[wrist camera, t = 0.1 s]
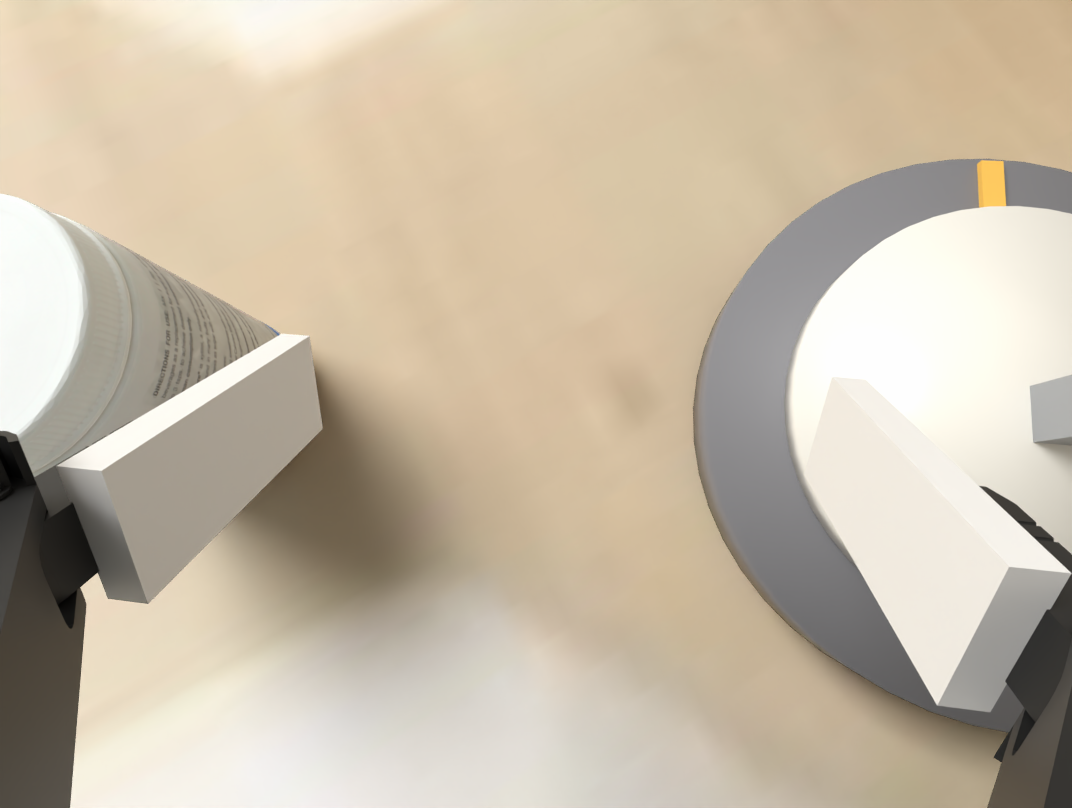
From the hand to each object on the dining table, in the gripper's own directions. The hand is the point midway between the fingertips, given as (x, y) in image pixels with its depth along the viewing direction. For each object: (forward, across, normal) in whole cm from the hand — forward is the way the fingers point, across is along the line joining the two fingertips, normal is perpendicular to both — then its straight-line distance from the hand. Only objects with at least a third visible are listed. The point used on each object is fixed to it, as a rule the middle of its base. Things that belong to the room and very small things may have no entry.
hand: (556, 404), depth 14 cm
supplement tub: (+13, +19, +8) cm, 24 cm away
